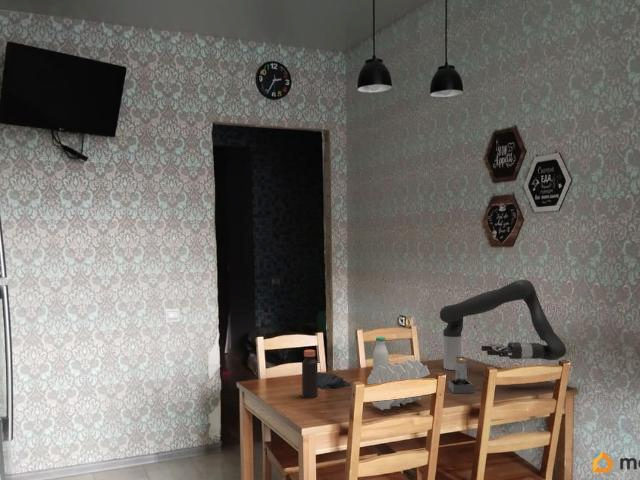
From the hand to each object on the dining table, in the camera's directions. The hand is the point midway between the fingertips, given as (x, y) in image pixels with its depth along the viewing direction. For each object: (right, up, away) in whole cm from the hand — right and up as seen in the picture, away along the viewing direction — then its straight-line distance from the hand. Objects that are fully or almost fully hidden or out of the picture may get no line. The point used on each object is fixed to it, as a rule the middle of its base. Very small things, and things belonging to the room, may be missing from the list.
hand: (484, 350), depth 263 cm
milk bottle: (-45, -18, +22) cm, 53 cm away
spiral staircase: (-43, -18, -24) cm, 53 cm away
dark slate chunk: (-72, -19, +13) cm, 75 cm away
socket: (-11, -18, -2) cm, 21 cm away
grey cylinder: (-11, -17, -2) cm, 20 cm away
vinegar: (-79, -18, -10) cm, 82 cm away
